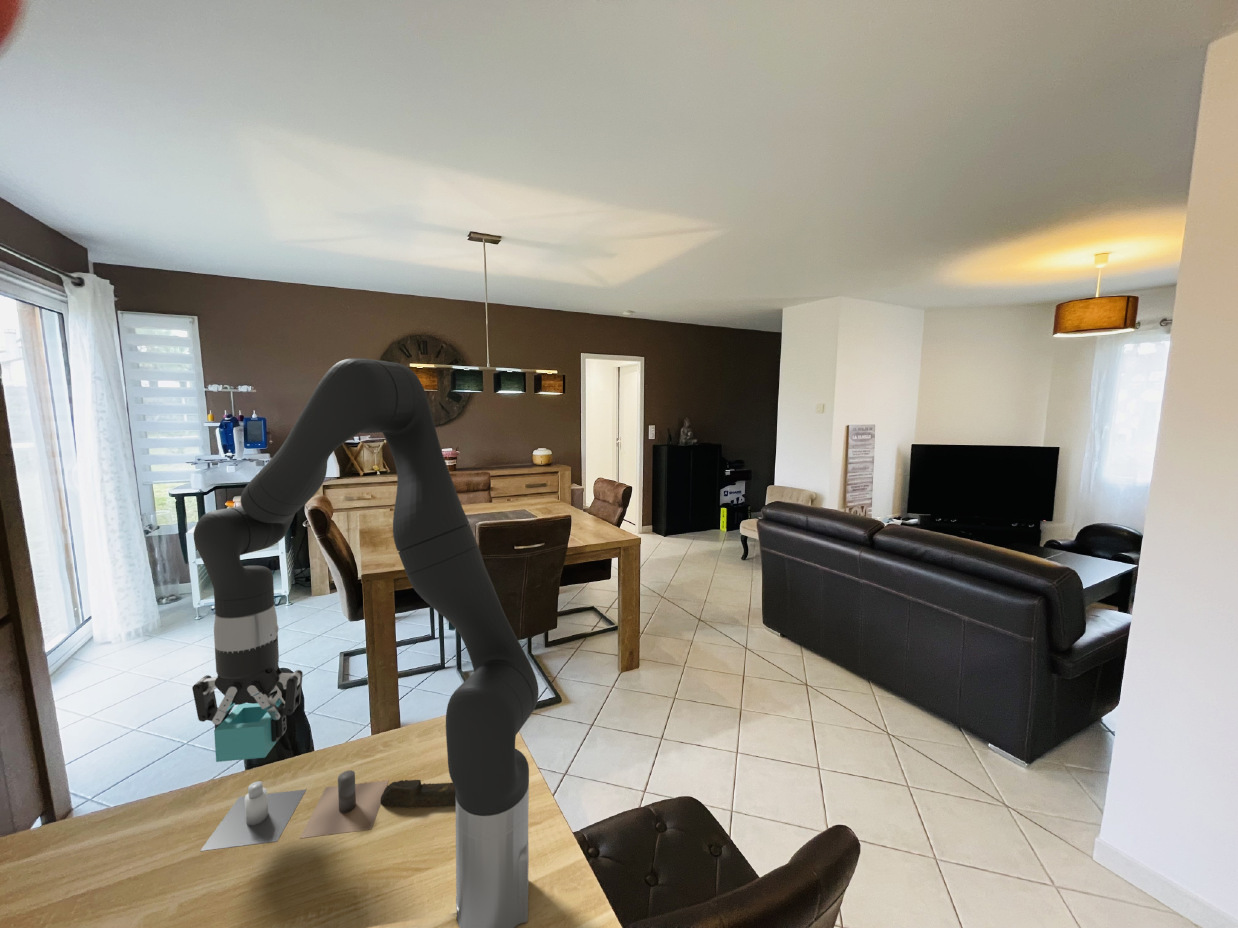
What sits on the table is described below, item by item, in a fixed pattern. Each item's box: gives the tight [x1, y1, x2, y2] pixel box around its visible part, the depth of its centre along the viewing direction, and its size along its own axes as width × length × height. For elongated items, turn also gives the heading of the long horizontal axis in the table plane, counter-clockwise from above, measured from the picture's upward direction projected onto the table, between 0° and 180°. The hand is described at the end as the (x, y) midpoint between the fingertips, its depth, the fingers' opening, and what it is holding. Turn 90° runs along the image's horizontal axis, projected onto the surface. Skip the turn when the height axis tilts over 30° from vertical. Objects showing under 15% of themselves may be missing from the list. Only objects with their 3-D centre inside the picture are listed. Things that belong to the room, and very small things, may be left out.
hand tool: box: [380, 779, 456, 809], centre depth 81 cm, size 19×4×5 cm, turn 94°
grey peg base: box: [199, 780, 307, 852], centre depth 76 cm, size 10×10×6 cm
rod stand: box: [299, 770, 389, 839], centre depth 78 cm, size 10×10×6 cm
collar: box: [213, 703, 278, 763], centre depth 74 cm, size 6×6×5 cm
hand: (252, 739), depth 75 cm, fingers closed on collar, 6 cm apart
